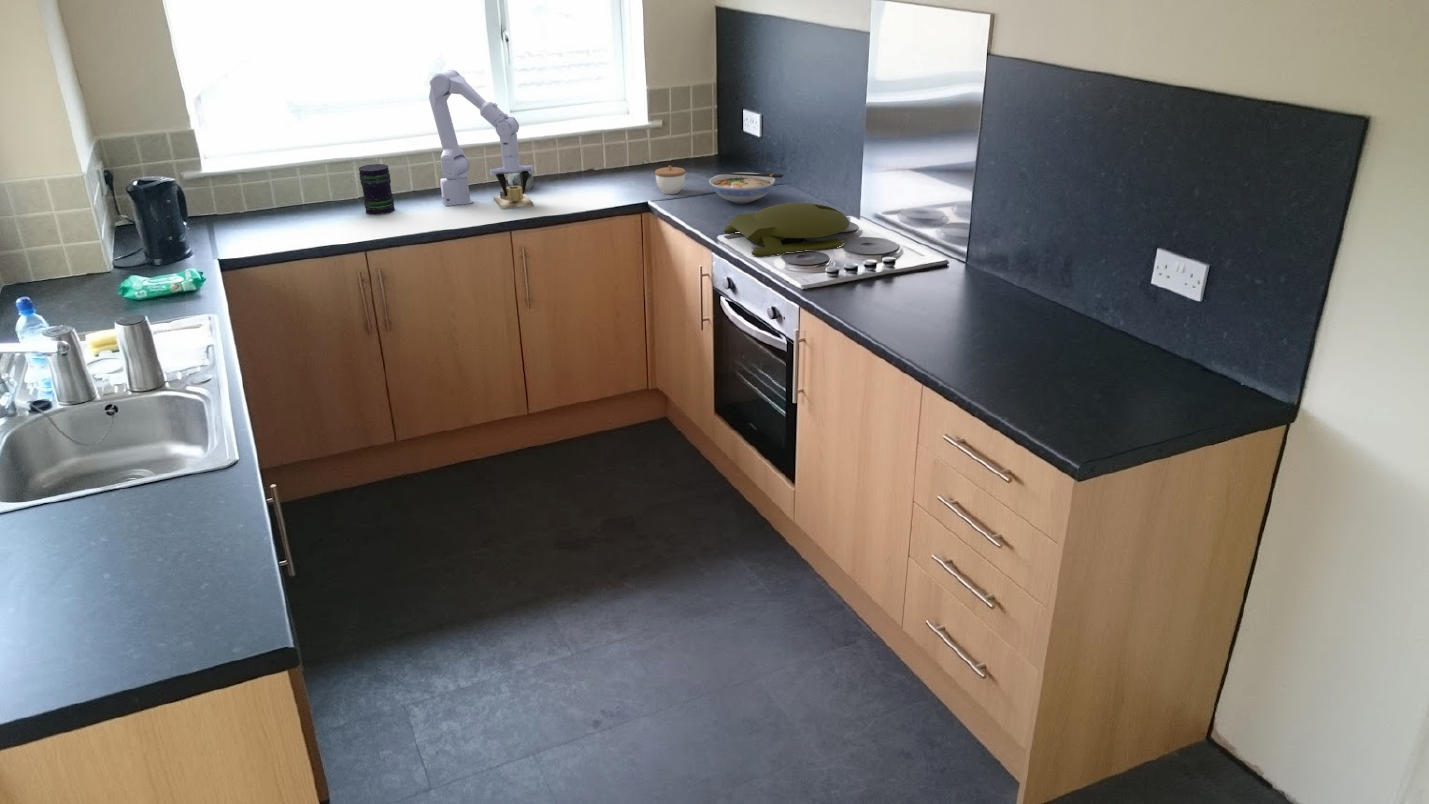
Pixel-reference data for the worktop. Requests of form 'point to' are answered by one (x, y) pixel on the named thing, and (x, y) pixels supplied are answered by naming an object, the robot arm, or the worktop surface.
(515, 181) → the spool
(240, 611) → the worktop surface
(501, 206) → the gear board
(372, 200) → the black green cylinder
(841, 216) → the green sea turtle
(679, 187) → the lidded jar
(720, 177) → the ramen bowl
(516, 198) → the brass gear
